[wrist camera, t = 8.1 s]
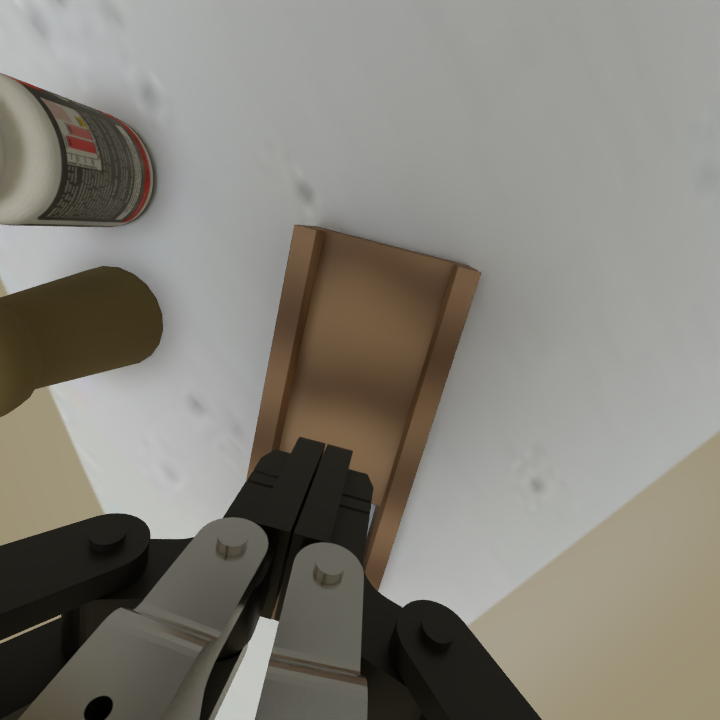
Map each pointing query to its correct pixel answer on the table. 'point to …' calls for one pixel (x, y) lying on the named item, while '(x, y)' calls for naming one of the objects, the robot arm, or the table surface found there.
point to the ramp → (363, 362)
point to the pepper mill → (74, 330)
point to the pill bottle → (67, 162)
